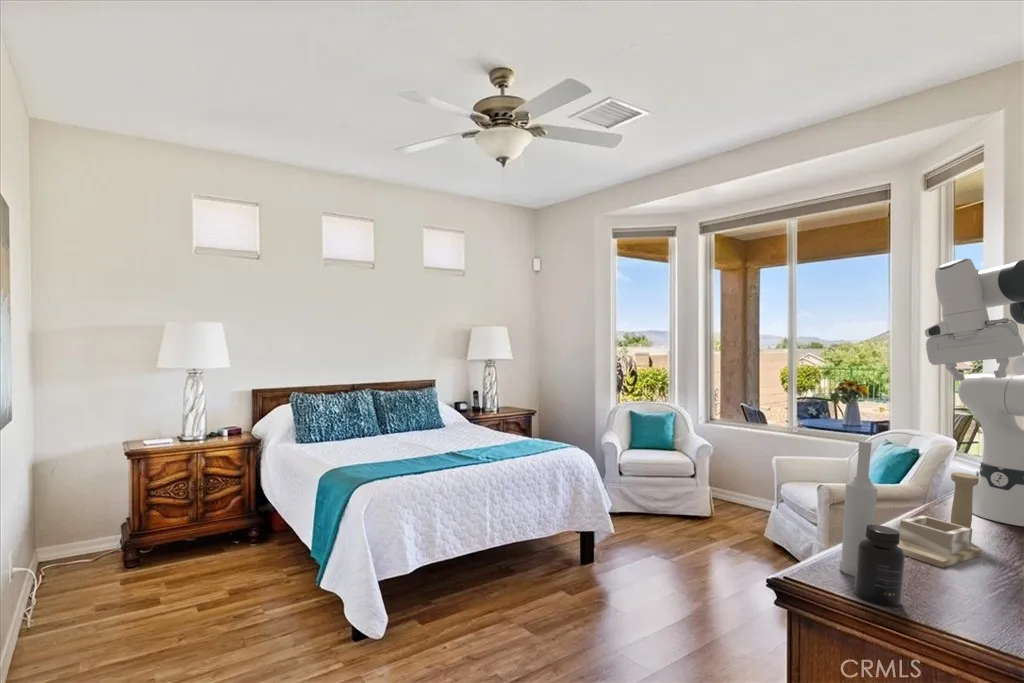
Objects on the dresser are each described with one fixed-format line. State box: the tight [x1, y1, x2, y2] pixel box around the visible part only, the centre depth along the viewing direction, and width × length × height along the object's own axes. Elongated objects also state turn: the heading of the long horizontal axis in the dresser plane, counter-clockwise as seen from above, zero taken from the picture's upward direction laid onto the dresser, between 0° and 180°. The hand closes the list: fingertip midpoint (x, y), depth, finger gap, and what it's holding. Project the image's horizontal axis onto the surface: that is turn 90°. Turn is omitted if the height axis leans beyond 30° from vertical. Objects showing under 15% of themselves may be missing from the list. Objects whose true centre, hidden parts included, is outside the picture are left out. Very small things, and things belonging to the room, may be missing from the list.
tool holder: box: [897, 515, 983, 569], centre depth 124 cm, size 18×12×6 cm, turn 121°
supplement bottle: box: [854, 524, 906, 608], centre depth 98 cm, size 7×7×12 cm
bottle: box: [838, 439, 878, 577], centre depth 109 cm, size 5×5×25 cm
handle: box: [950, 472, 980, 528], centre depth 134 cm, size 5×6×15 cm
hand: (979, 379), depth 141 cm, fingers open, 8 cm apart
